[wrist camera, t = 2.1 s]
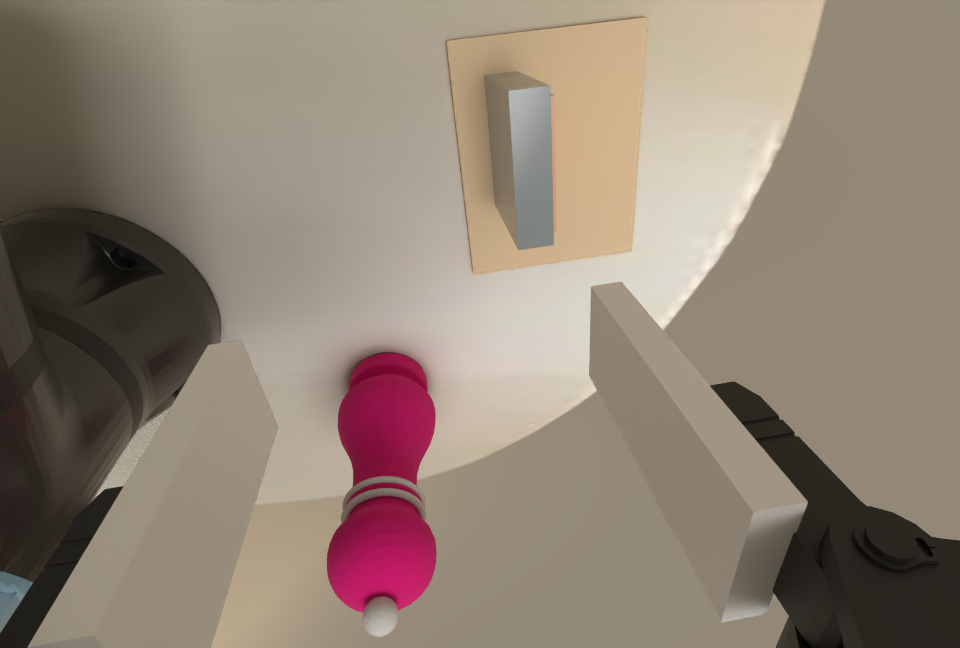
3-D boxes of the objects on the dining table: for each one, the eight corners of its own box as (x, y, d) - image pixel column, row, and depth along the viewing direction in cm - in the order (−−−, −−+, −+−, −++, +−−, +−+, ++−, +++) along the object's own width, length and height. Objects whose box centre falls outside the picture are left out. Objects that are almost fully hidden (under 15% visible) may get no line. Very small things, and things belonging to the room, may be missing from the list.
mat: (472, 271, 37) (473, 274, 37) (446, 40, 29) (446, 40, 29) (628, 248, 38) (631, 251, 37) (643, 17, 30) (648, 17, 29)
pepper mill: (445, 398, 43) (475, 643, 26) (369, 427, 44) (349, 686, 27) (410, 333, 39) (417, 571, 22) (327, 366, 40) (271, 623, 23)
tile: (494, 204, 34) (518, 250, 27) (484, 75, 30) (508, 90, 23) (528, 200, 34) (559, 244, 27) (521, 70, 30) (557, 84, 23)
